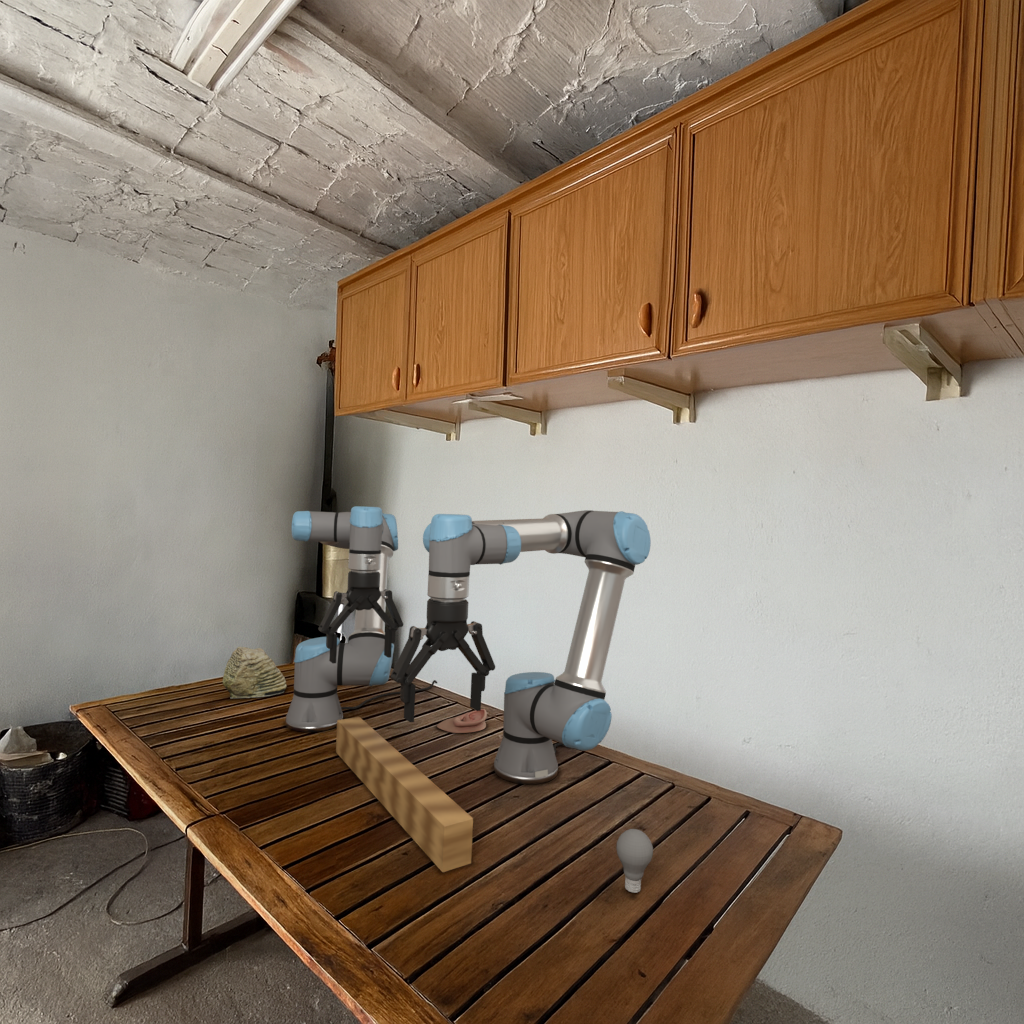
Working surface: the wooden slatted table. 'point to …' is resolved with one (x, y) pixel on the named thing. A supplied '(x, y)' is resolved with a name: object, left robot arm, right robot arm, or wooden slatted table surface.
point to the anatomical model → (465, 722)
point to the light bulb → (634, 857)
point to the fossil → (252, 674)
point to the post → (407, 795)
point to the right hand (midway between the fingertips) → (443, 714)
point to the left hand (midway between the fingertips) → (360, 659)
